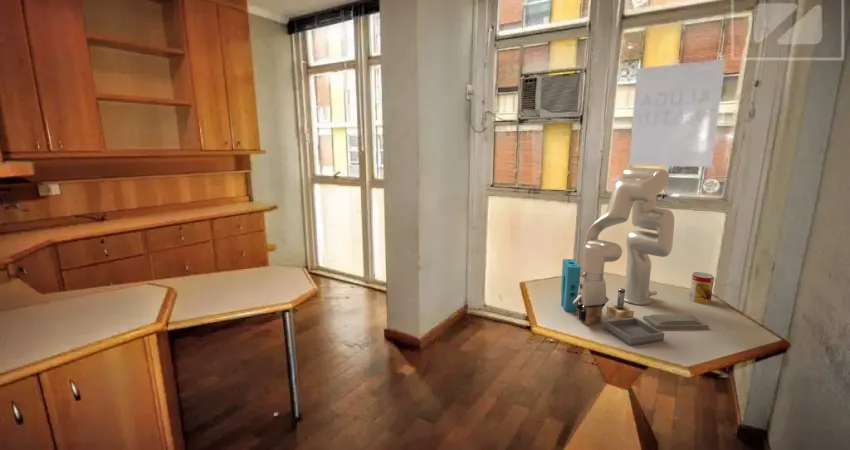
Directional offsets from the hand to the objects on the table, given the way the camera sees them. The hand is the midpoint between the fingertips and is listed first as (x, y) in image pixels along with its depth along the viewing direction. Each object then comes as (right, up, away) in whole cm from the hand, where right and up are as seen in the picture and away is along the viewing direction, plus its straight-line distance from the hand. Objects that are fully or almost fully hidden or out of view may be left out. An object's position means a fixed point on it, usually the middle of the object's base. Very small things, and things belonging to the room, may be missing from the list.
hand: (589, 318), depth 157 cm
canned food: (+58, +3, +20) cm, 61 cm away
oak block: (+14, 0, +4) cm, 14 cm away
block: (-3, +1, +14) cm, 14 cm away
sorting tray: (+11, -3, -11) cm, 16 cm away
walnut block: (0, -1, 0) cm, 1 cm away
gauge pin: (+14, 0, +4) cm, 14 cm away
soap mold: (+32, -2, -3) cm, 32 cm away
